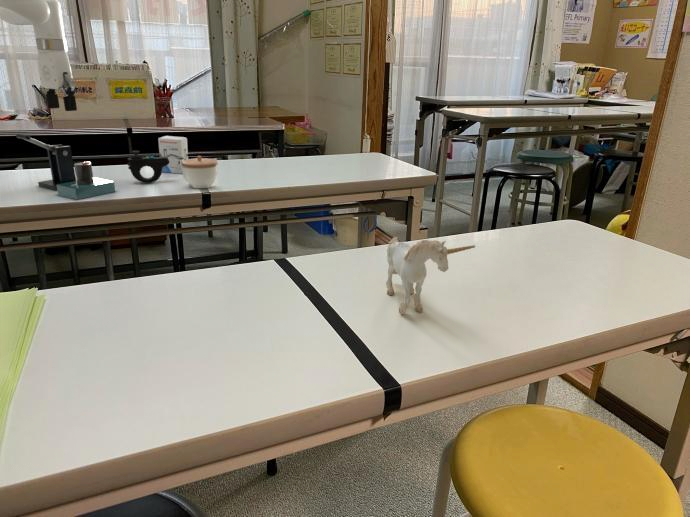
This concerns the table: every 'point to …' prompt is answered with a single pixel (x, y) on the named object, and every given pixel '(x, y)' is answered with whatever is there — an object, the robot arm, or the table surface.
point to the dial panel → (85, 189)
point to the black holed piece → (139, 162)
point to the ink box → (173, 152)
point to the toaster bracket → (60, 167)
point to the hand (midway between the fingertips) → (62, 109)
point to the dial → (84, 173)
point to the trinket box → (200, 171)
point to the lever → (36, 142)
